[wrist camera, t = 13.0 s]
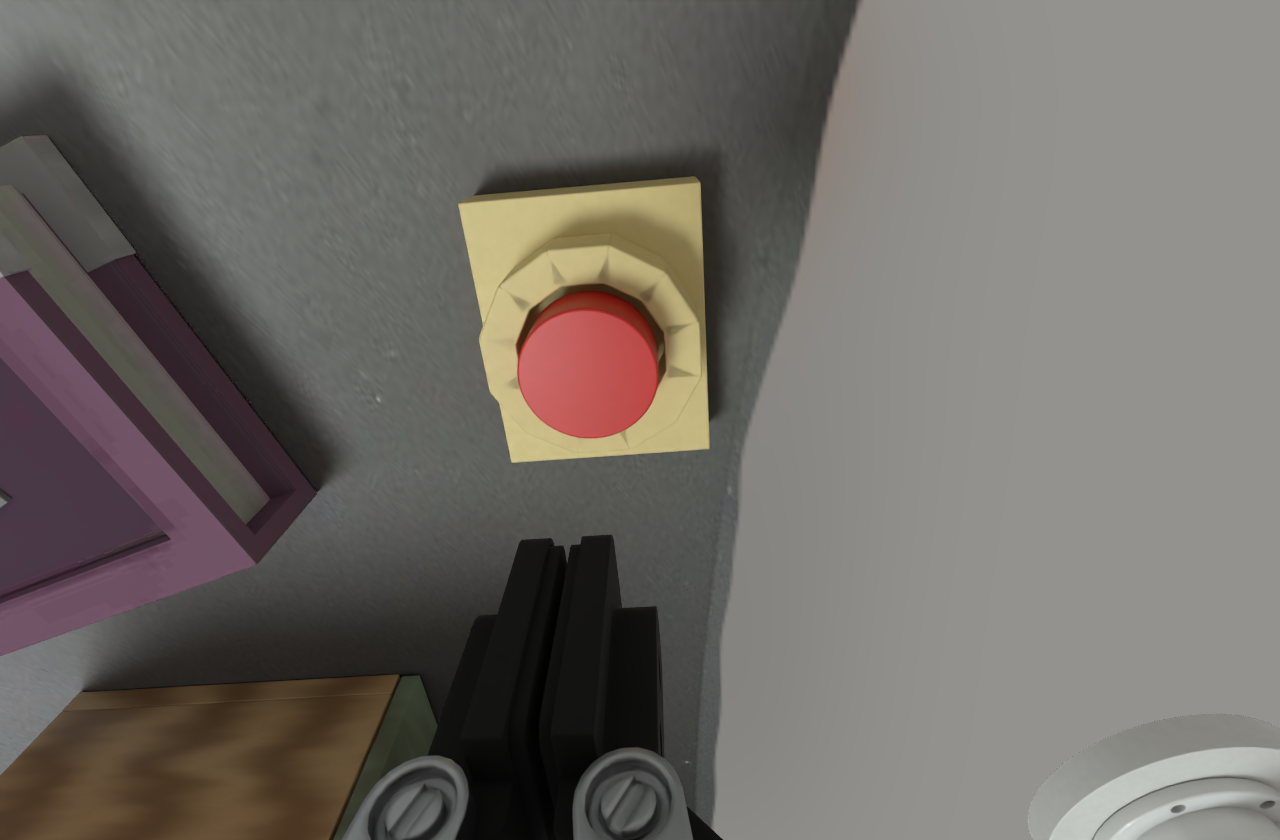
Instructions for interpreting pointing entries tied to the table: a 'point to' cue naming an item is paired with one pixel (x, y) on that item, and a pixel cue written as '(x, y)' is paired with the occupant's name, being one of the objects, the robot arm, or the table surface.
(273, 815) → the cupboard
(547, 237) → the button block
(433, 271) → the table surface
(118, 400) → the book
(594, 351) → the button
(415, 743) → the door
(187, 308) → the table surface
